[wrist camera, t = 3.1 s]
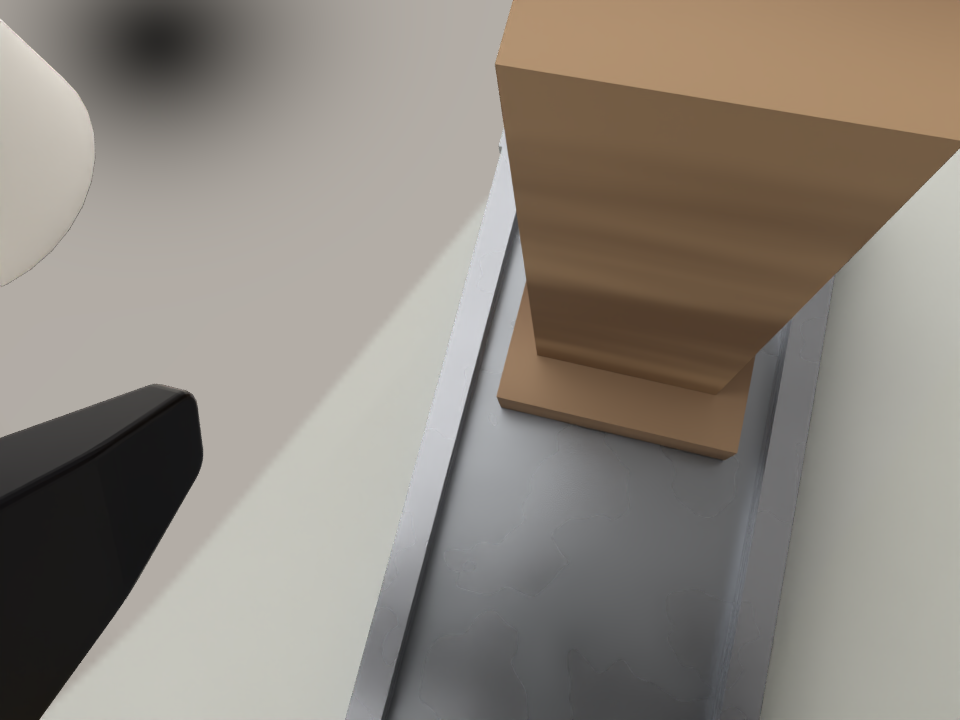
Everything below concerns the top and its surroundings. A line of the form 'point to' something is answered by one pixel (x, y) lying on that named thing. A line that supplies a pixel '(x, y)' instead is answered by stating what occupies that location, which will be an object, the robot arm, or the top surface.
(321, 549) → the top surface
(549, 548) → the track
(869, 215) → the plate
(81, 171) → the cup
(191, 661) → the top surface
